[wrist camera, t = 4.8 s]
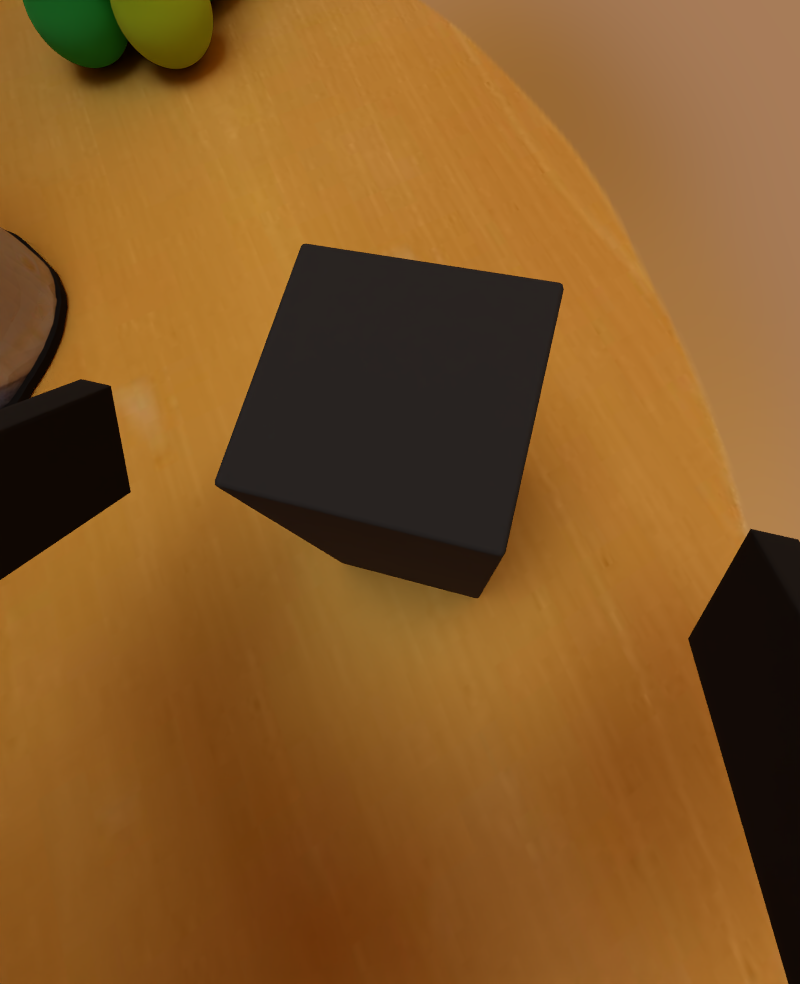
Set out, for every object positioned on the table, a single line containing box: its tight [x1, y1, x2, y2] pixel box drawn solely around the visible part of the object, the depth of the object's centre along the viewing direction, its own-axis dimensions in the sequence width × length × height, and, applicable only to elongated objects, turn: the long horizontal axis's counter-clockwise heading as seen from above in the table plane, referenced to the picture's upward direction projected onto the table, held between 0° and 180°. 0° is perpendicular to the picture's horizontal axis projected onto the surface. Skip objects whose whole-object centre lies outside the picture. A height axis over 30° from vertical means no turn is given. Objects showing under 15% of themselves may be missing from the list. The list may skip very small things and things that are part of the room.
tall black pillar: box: [215, 244, 564, 598], centre depth 14 cm, size 5×5×10 cm
